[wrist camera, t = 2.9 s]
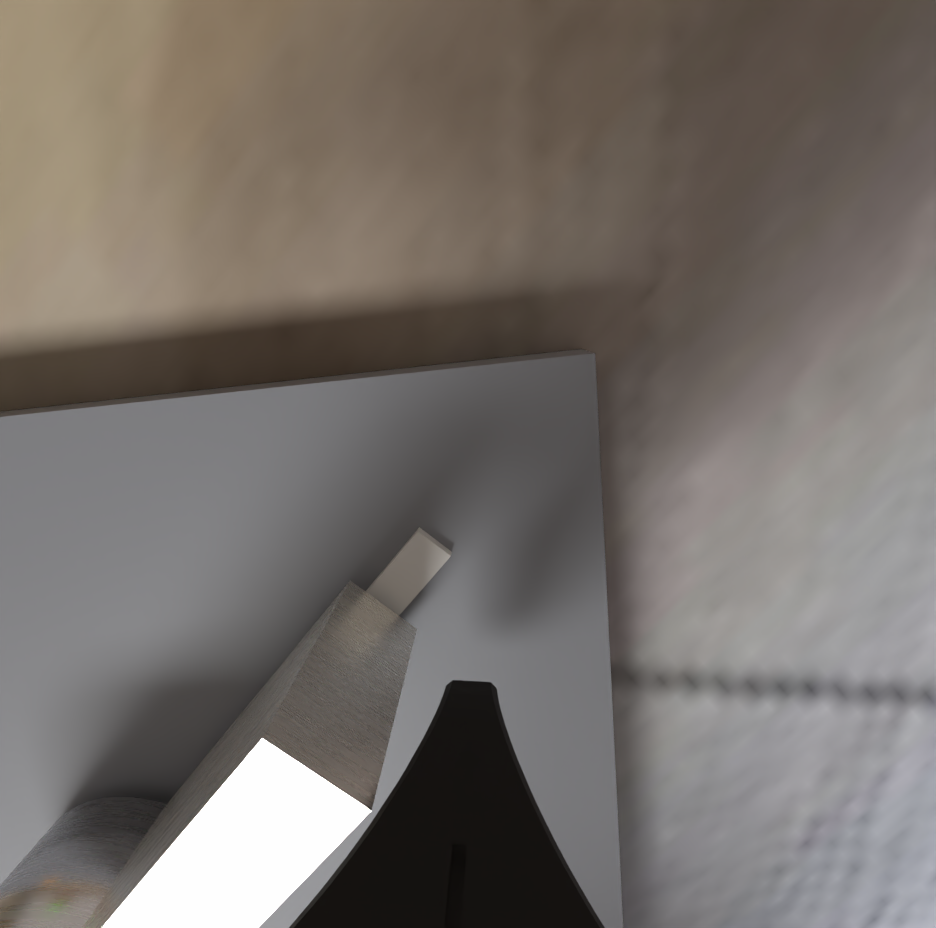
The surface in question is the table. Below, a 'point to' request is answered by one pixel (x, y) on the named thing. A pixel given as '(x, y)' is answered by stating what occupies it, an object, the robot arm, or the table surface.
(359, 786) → the lever handle
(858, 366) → the table surface
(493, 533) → the panel
